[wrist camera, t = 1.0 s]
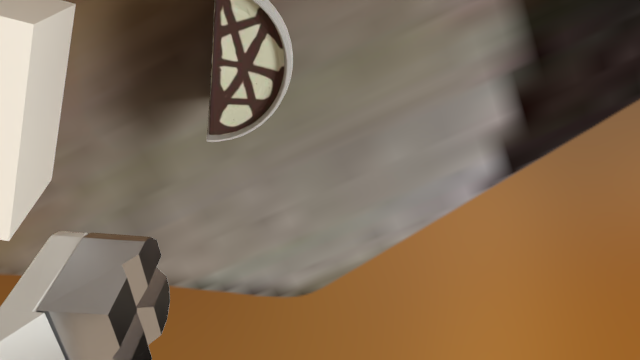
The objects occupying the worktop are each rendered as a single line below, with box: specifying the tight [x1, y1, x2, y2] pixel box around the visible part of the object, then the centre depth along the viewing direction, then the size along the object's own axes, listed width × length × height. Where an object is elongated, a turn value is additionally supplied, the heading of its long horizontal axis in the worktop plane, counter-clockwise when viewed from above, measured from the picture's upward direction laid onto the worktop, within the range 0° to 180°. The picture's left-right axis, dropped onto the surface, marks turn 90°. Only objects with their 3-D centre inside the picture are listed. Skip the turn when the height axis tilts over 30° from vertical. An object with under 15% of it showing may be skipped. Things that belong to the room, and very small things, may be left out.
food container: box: [207, 0, 293, 142], centre depth 46 cm, size 12×6×10 cm, turn 173°
